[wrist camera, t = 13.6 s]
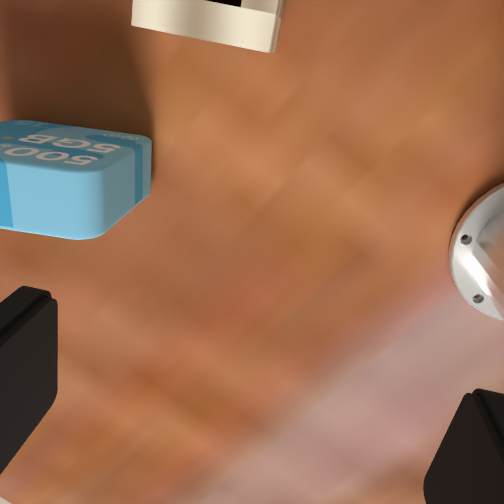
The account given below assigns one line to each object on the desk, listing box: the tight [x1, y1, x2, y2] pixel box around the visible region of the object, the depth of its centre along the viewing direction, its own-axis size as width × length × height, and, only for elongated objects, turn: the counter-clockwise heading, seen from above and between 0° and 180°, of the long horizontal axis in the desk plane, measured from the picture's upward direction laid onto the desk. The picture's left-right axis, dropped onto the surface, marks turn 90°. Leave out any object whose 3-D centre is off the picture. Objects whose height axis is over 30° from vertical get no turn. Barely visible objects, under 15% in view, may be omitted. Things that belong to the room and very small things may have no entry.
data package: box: [0, 120, 152, 240], centre depth 33 cm, size 12×4×12 cm, turn 84°
